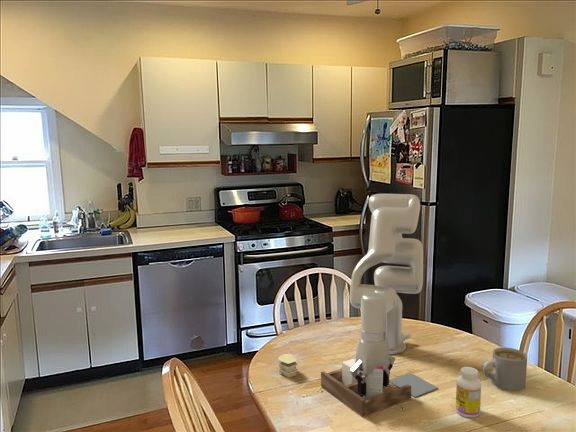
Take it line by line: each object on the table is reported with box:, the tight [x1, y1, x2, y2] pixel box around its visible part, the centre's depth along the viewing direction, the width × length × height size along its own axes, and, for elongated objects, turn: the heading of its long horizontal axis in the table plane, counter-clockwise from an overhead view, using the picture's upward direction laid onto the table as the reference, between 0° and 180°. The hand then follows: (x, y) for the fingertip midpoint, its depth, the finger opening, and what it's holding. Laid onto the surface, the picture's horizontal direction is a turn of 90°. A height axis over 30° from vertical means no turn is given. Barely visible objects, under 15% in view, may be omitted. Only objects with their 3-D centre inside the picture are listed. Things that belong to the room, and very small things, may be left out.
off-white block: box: [341, 357, 363, 386], centre depth 154 cm, size 5×5×8 cm
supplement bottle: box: [455, 366, 482, 419], centre depth 138 cm, size 7×7×13 cm
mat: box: [389, 372, 439, 399], centre depth 155 cm, size 10×12×1 cm
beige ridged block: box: [277, 353, 298, 379], centre depth 164 cm, size 10×9×6 cm
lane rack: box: [320, 368, 412, 418], centre depth 150 cm, size 19×20×5 cm
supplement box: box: [362, 366, 384, 400], centre depth 145 cm, size 6×6×12 cm
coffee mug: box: [482, 346, 528, 392], centre depth 154 cm, size 13×10×10 cm
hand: (373, 389), depth 146 cm, fingers closed on supplement box, 8 cm apart
